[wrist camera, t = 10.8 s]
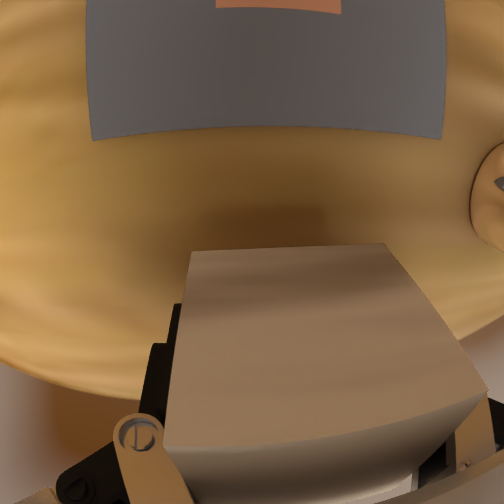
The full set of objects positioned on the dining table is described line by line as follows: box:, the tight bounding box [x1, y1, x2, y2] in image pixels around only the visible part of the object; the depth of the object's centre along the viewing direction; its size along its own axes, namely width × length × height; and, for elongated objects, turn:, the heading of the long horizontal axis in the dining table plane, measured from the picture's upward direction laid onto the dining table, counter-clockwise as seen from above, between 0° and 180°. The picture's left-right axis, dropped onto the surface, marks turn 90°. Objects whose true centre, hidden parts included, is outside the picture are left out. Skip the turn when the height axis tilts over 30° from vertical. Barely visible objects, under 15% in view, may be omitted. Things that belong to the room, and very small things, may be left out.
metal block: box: [163, 243, 488, 504], centre depth 8 cm, size 6×6×6 cm
